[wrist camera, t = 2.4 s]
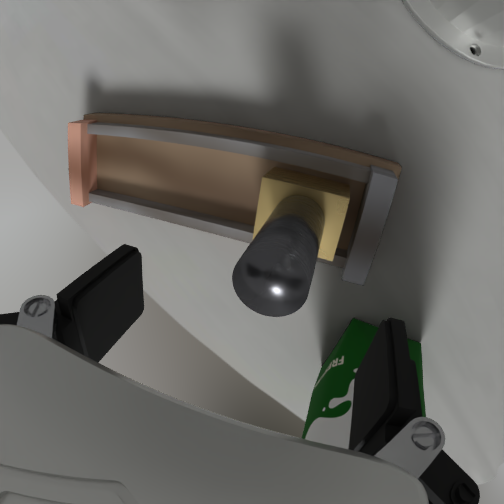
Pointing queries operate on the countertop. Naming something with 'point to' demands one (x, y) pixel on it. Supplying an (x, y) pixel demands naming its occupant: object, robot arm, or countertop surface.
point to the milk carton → (345, 386)
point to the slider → (289, 240)
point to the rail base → (221, 177)
